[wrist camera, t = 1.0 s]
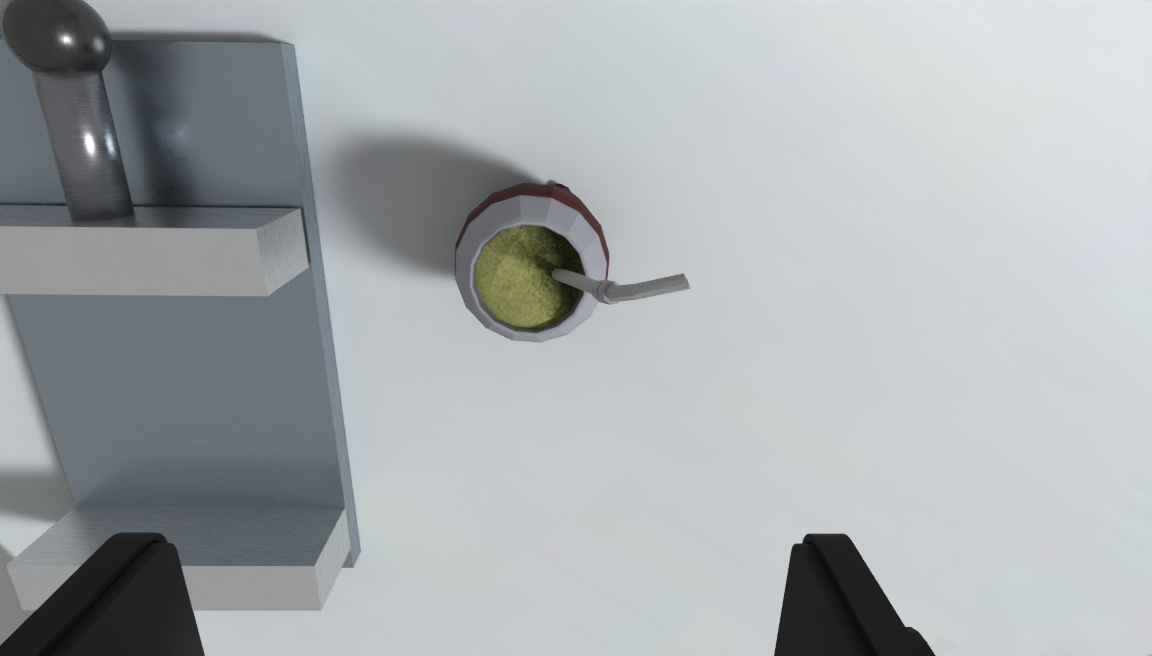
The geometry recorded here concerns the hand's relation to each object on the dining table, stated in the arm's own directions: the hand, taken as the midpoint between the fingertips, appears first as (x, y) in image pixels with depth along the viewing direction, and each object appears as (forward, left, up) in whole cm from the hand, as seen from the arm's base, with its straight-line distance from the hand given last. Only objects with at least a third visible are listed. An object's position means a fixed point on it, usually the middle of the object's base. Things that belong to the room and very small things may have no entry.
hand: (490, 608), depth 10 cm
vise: (+6, -20, -26) cm, 33 cm away
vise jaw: (-5, -20, -24) cm, 32 cm away
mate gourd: (0, 0, -26) cm, 26 cm away
